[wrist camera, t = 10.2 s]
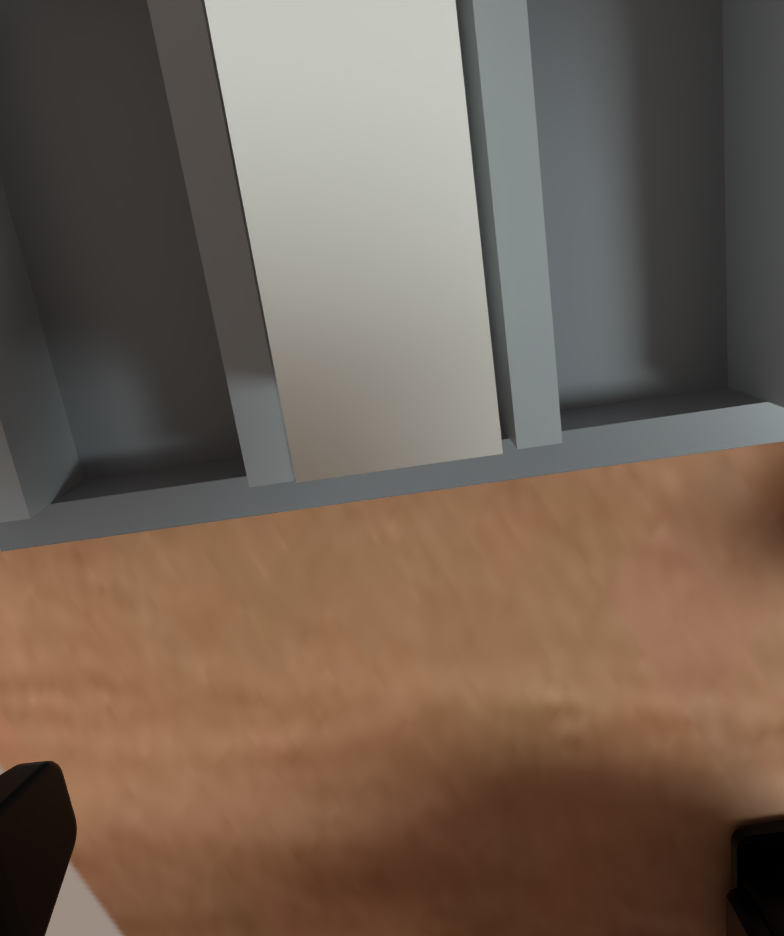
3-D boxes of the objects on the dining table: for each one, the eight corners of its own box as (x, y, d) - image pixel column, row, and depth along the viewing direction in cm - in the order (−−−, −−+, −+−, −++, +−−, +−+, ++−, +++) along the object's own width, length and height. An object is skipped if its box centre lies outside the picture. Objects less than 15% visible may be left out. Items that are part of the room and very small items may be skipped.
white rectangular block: (395, -6, 16) (412, -412, 6) (440, 352, 18) (502, 453, 9) (284, 13, 16) (134, -364, 6) (342, 366, 18) (296, 483, 9)
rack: (766, -208, 16) (889, -360, 12) (766, 409, 20) (859, 444, 16) (-110, -61, 16) (-262, -160, 13) (55, 510, 20) (-22, 567, 16)
